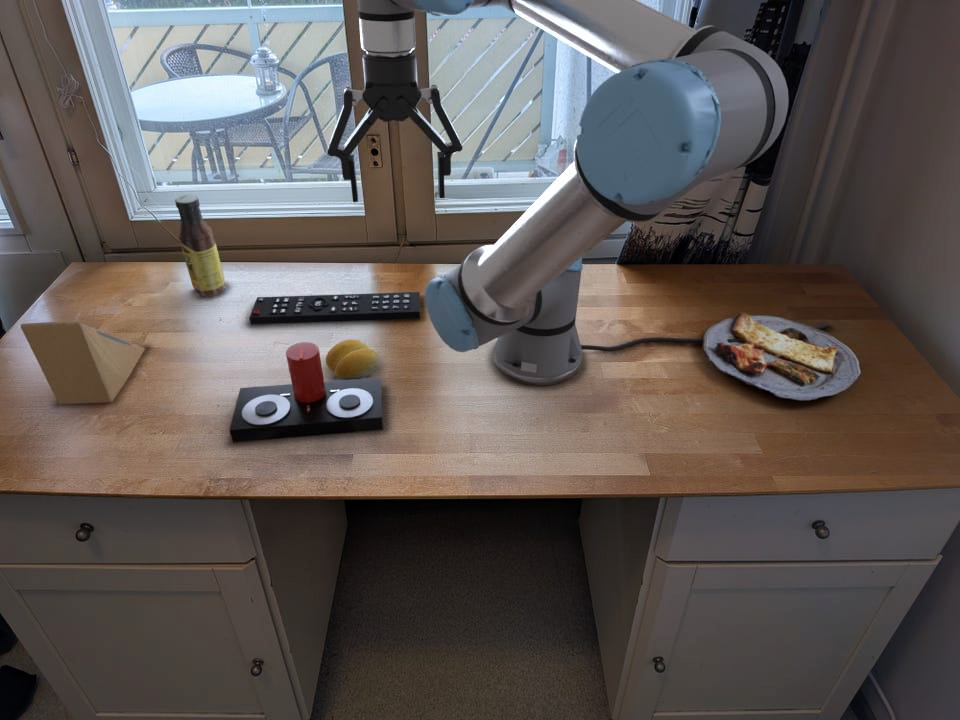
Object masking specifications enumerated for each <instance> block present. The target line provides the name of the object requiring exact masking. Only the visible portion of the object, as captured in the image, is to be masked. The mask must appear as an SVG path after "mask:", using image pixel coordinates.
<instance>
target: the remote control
mask: <svg viewBox="0 0 960 720" xmlns="http://www.w3.org/2000/svg"><path fill="white" fill-rule="evenodd" d="M420 319H421V292H420V291H407V292H405V291H404V292H378V293H377V292H375V293H349V294H348V293H346V294H345V293H343V294H342V293H341V294H317V295H315V294H314V295H312V294H311V295H286V296H285V295H283V296H257V297H256V300H255V302H254V304H253V307H252V309H251V311H250V315H249V322H250V326H253V325H256V326H257V325H283V324H285V325H286V324H308V323H309V324H312V323H314V324H315V323H336V322H337V323H338V322H364V321H366V322H367V321H392V320H397V321H399V320H420Z"/></svg>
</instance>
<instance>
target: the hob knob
mask: <svg viewBox="0 0 960 720" xmlns="http://www.w3.org/2000/svg"><path fill="white" fill-rule="evenodd" d="M285 357H286V361H287V367H288V371H289V376H290V381H291V384H292V387H293V391H294V396H295V398H296V399H297V400H298V401H300V402H304V403H310V402H315V401H317V400H319V399H321V398H322V397H323V396H324V395H325V393H326V389H325V383H324V382H325V378H324V373H323V372H324V371H323V364H322V358H321V353H320V348H319V346H318V345H317V344H315V343H313V342H309V341H307V342H306V341H303V342H298V343H295V344H293V345H291V346H289V347H288V348H287V349H286V351H285Z"/></svg>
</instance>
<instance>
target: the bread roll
mask: <svg viewBox="0 0 960 720" xmlns="http://www.w3.org/2000/svg"><path fill="white" fill-rule="evenodd" d="M325 363H326V365H327V367H328V368H329V370H331V372H333V373H334V375H336V376H337V377H338V378H339V379H341V380H352V379H366V378H369V377H370V376H371V375H372V374H373V373H375V372H376V370H377V368H378V366H379V356H378V353H377V352H376V350H375V349H372V348H370V346H369V345H368V344H366V343H365V342H363V341H360V340H358V339H345V340H342V341H340V342H338V343H336V344H335V345H334V346H332V347H331V348H330V349H329V350H328V351H327V354H326V356H325Z"/></svg>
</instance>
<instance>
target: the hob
mask: <svg viewBox="0 0 960 720" xmlns="http://www.w3.org/2000/svg"><path fill="white" fill-rule="evenodd" d="M324 383H325V389H326V393H325V395H324V396H323V397H322V398H321V399H319V400H317V401H315V402H310V403H304V402H300V401H298V400H297V399H296V398H295V396H294V391H293V387H292V383H288V384H275V385H263V386H250V387H249V386H248V387H240V388H239V391H238V395H237V398H236V404H235V407H234V411H233V415H232V418H231V422H230V426H229V430H228V431H229V434H230V437H231V440H232V443H234V444H235V443H245V442H246V443H247V442H259V441H270V440H281V439H282V440H283V439H292V438H293V439H294V438H304V437H316V436H317V437H318V436H326V435H339V434H341V435H342V434H351V433H362V432H374V431H376V432H377V431H384V407H383V402H384V401H383V383H382V377H365V378H363V379H352V380H343V379H341V380H340V379H339V380H328V381H327V380H326V381H324ZM350 388H357V389H362V390H365V391H367V392H368V393H369V394H370V395H371V396H372V398H373V405H372V407H371V409H370V410H369V411H368V412H367V413H365V414H364V415H362V416H359V417H356V418H351V419H342V418H337V417H335V416H333V415H331V414H330V413H329V412H328V410H327V406H326V404H327V401H328V399H329V398H330V397H331V396H332V395H333V394H334V393H336V392H338V391H341V390H344V389H350ZM264 395H279V396H283V397H285V398H286V399H287V400H288V401H289V403H290V411H289V413H288V415H287V416H286V417H285V418H283V419H282V420H281V421H279V422H277V423H274V424H271V425H266V426H255V425H251V424H249V423H247V422H246V421H245V420H244V419H243V417H242V410H243V408H244V407H245V405H246V404H247V403H248V402H250V401H251V400H253V399H255V398H257V397H260V396H264Z"/></svg>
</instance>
